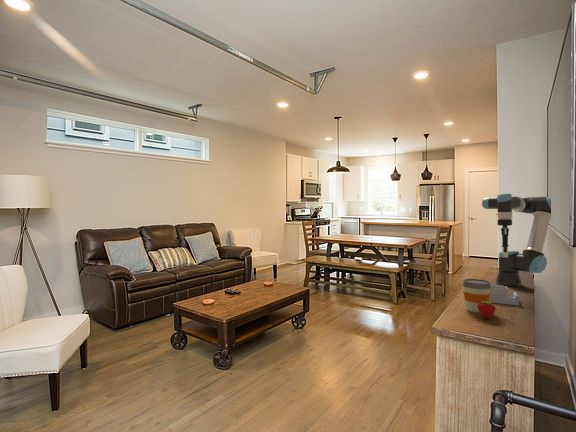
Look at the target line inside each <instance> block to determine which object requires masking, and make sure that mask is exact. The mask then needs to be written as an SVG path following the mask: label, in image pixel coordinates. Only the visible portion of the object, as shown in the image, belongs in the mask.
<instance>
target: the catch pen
mask: <svg viewBox="0 0 576 432" xmlns="http://www.w3.org/2000/svg"><path fill="white" fill-rule="evenodd" d="M489 302H491V303H493V304H494V303H495V304H502V305H511V306H520V295H519V294H517V292H516V291H513V295H512V296H509V295H508V296H498V295H490V297H489Z"/></svg>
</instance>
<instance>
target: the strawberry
mask: <svg viewBox="0 0 576 432" xmlns="http://www.w3.org/2000/svg"><path fill="white" fill-rule="evenodd" d="M487 299H488V298H487ZM480 302H483V303H479V304H478V306H477V307H478V310H479V312H480V314H481V316H482V317H483V318H484V319H485V320H489V319H490V317H492V316H493V315H494V314H495V312H496V305H494V303H492V302H489V301H487V302H485V301H480ZM479 312H478V313H479Z"/></svg>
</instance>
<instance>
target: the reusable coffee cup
mask: <svg viewBox="0 0 576 432" xmlns="http://www.w3.org/2000/svg"><path fill="white" fill-rule="evenodd" d="M490 285H491V282H490V281H489V280H485V279H478V278H465V279H463V282H462V287H463V297H464V300H465V305H466V310H467V311H469V312H472V311H473V313H479V310H478V307H477V306H478V304H479V303H483V302H480V301H485V302H487V301H489V297H490V293H489V291H490V288H491V286H490ZM487 298H488V299H487Z"/></svg>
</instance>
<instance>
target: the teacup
mask: <svg viewBox="0 0 576 432" xmlns="http://www.w3.org/2000/svg"><path fill="white" fill-rule="evenodd" d="M490 286H491V288H490V291H489V293H490V295H498V296H508V297H509V295H508V294H509V292H508V291H509V288H508V287H509V286H504V285H499V284H490Z"/></svg>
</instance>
